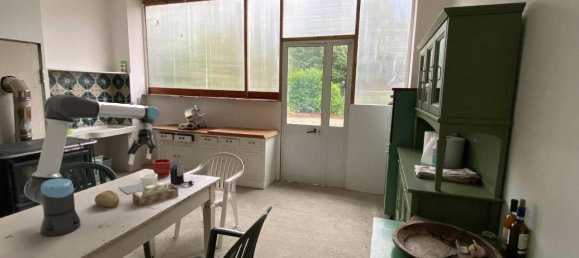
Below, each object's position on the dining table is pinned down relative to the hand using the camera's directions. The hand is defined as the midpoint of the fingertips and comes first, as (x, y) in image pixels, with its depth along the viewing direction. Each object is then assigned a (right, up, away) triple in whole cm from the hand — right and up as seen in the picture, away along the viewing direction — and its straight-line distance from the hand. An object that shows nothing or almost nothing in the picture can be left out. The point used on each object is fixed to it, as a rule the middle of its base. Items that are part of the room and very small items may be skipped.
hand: (139, 161), depth 172 cm
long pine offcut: (+8, -22, +3) cm, 24 cm away
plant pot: (-8, -17, +49) cm, 52 cm away
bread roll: (-15, -25, -6) cm, 30 cm away
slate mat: (-14, -20, +21) cm, 32 cm away
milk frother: (+14, -20, +33) cm, 41 cm away
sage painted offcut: (+9, -20, +3) cm, 22 cm away
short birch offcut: (+9, -17, +3) cm, 19 cm away
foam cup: (+2, -23, +10) cm, 25 cm away
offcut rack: (+9, -24, +4) cm, 25 cm away
